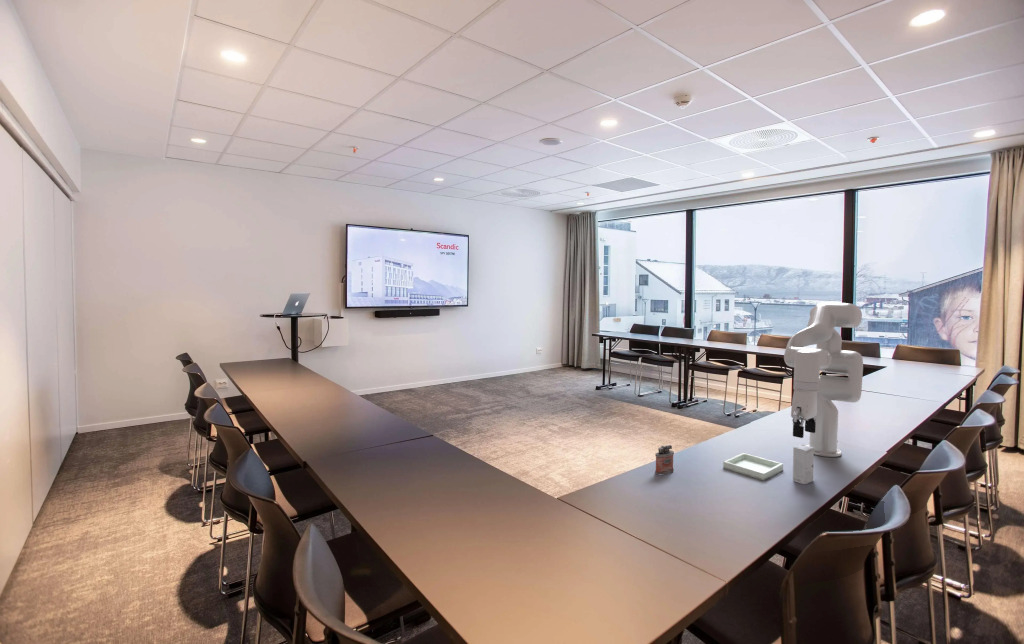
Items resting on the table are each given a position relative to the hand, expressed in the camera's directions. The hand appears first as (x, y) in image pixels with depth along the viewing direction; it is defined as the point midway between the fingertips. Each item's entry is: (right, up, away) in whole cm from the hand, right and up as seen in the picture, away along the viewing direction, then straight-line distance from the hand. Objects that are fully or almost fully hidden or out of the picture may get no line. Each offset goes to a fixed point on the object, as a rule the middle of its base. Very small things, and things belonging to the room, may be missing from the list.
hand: (804, 434), depth 167 cm
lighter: (-45, -17, +11) cm, 50 cm away
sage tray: (-11, -16, +13) cm, 23 cm away
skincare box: (+1, -17, +2) cm, 17 cm away
